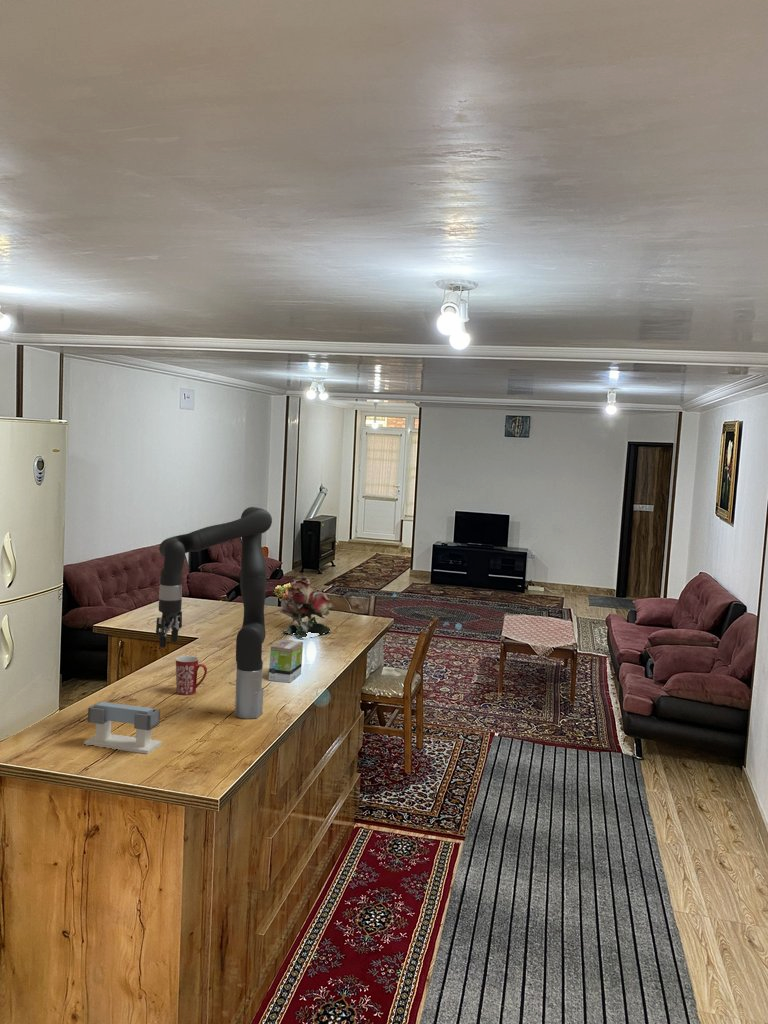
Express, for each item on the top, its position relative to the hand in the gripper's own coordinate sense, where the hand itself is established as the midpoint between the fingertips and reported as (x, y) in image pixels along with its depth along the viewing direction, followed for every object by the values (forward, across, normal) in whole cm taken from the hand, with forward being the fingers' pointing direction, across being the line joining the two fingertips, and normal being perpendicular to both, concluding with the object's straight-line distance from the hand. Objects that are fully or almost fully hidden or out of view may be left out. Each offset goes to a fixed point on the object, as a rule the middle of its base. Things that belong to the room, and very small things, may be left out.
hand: (168, 644), depth 272 cm
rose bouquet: (+28, +156, 0) cm, 158 cm away
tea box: (+28, +71, -19) cm, 79 cm away
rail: (+20, -21, +4) cm, 29 cm away
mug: (+28, +36, +8) cm, 46 cm away
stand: (+28, -21, +4) cm, 35 cm away
